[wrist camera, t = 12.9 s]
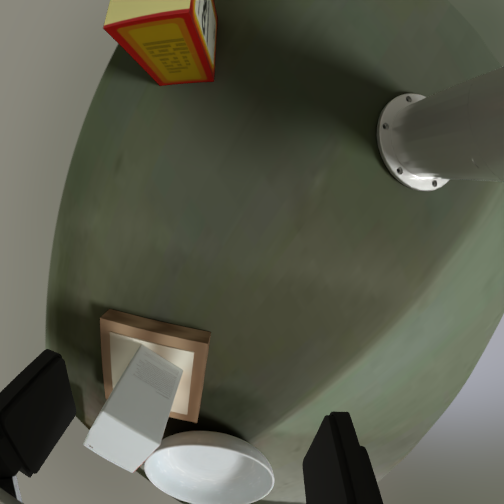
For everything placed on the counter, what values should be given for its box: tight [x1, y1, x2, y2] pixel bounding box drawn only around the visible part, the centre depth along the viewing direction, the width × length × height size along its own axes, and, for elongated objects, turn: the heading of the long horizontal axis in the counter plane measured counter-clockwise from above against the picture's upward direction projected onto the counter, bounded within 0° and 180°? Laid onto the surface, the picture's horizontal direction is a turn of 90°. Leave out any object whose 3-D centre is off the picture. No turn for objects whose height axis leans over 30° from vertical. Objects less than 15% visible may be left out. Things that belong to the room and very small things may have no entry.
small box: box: [83, 344, 183, 473], centre depth 28 cm, size 8×6×13 cm
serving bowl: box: [144, 431, 274, 504], centre depth 39 cm, size 21×21×7 cm
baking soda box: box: [104, 0, 218, 86], centre depth 21 cm, size 10×6×16 cm
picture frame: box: [100, 309, 211, 423], centre depth 36 cm, size 14×14×3 cm
